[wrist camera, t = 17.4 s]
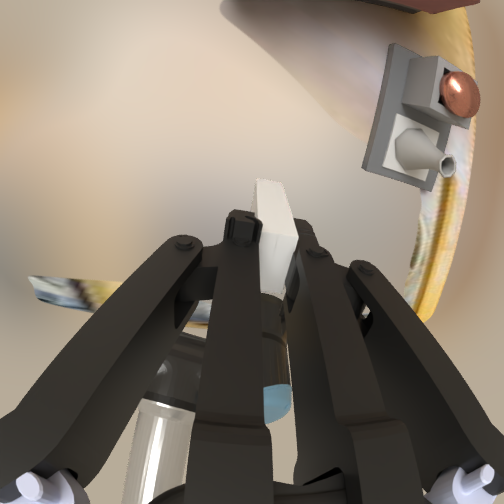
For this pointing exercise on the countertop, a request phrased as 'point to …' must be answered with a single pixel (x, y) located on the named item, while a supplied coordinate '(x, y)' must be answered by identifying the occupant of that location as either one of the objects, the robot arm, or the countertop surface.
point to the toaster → (423, 5)
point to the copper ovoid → (459, 94)
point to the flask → (422, 153)
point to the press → (409, 113)
